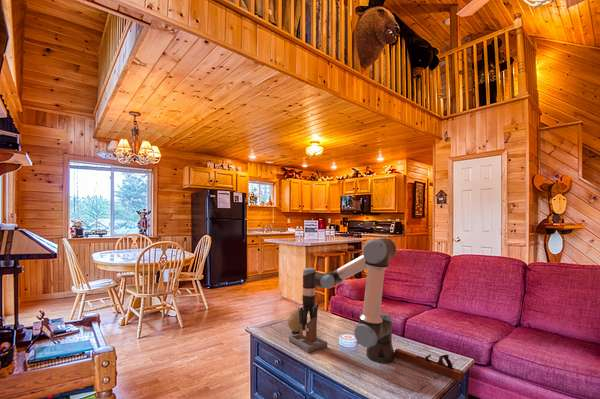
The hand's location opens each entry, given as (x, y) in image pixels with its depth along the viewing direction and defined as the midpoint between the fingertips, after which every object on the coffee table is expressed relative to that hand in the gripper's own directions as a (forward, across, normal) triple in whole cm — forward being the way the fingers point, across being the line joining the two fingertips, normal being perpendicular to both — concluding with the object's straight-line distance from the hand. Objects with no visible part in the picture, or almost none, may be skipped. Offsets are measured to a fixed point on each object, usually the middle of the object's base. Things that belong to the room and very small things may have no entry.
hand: (307, 334), depth 183 cm
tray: (+5, 0, 0) cm, 5 cm away
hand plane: (+6, -34, +55) cm, 65 cm away
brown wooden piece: (+3, 0, 0) cm, 3 cm away
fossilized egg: (+6, -6, -20) cm, 22 cm away
